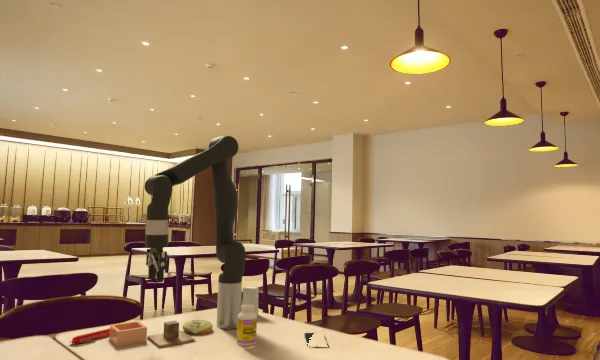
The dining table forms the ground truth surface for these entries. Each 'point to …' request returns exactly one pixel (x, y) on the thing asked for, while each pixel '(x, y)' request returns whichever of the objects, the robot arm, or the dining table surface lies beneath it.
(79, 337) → the candy bar
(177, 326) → the lid
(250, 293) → the skincare box
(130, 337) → the open box
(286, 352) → the dining table surface
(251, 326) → the supplement bottle
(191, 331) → the decorated donut
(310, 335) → the smartphone
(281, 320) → the dining table surface
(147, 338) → the mat
